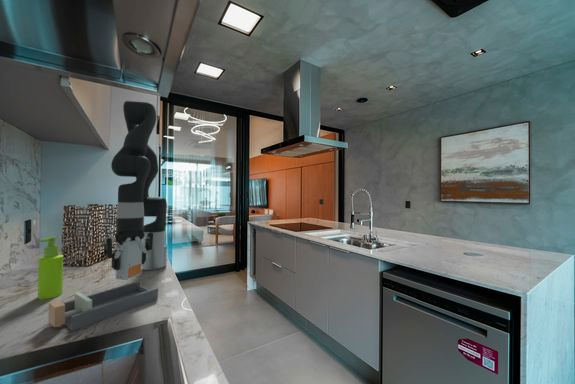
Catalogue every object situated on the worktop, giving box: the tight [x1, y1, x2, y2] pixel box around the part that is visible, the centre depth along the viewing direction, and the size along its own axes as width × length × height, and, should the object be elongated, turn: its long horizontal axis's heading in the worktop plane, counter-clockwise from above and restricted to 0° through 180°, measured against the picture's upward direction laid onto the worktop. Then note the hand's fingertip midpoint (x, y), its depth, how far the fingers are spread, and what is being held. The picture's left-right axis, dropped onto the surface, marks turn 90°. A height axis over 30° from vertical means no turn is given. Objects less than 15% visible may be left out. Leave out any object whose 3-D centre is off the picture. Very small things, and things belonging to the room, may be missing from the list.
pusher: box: [47, 291, 92, 328], centre depth 64 cm, size 7×10×5 cm
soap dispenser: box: [37, 236, 64, 300], centre depth 80 cm, size 6×7×20 cm
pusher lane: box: [63, 280, 159, 332], centre depth 73 cm, size 22×12×4 cm, turn 148°
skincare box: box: [115, 239, 143, 281], centre depth 77 cm, size 6×4×12 cm
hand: (129, 266), depth 77 cm, fingers closed on skincare box, 7 cm apart
